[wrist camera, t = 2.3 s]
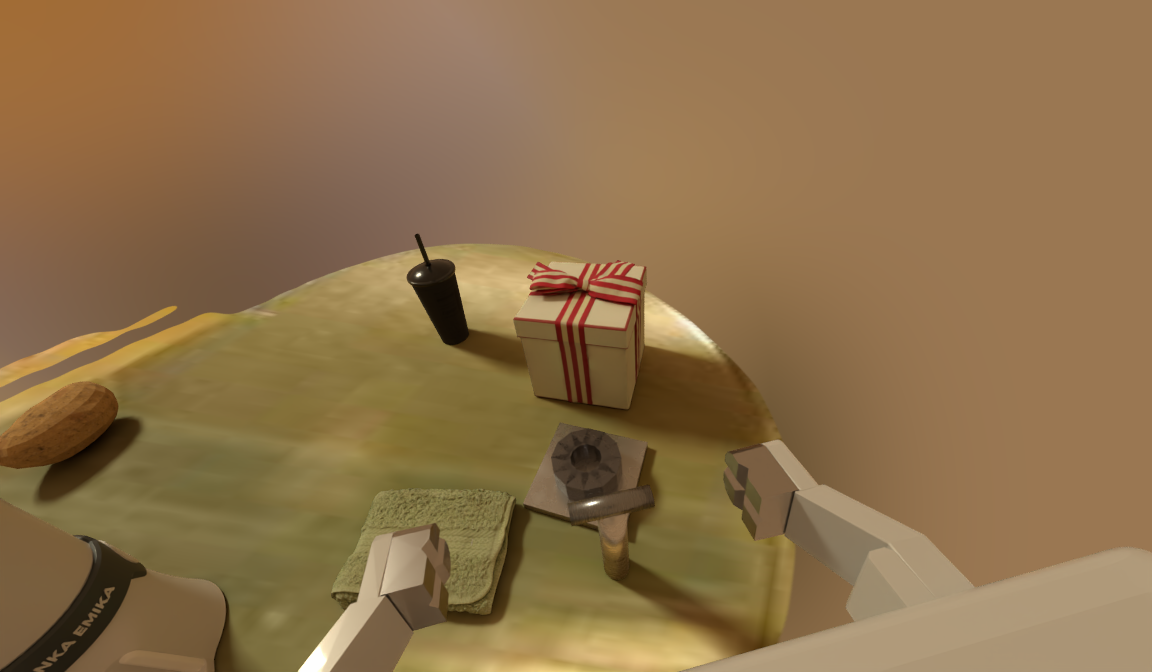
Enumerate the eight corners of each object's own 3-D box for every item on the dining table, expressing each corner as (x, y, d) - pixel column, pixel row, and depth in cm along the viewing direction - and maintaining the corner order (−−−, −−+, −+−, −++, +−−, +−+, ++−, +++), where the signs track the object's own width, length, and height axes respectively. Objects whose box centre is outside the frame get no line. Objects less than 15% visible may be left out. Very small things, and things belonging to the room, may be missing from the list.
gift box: (647, 328, 71) (648, 237, 60) (639, 413, 58) (638, 315, 47) (552, 324, 75) (536, 237, 64) (522, 403, 61) (496, 310, 50)
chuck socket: (624, 537, 45) (622, 520, 42) (524, 507, 49) (518, 490, 46) (647, 446, 53) (647, 427, 51) (560, 427, 57) (557, 408, 55)
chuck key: (645, 545, 44) (646, 476, 35) (653, 571, 42) (656, 504, 33) (581, 561, 44) (565, 494, 35) (586, 588, 42) (571, 524, 33)
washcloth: (498, 621, 41) (490, 610, 39) (332, 612, 43) (316, 601, 41) (521, 495, 51) (515, 481, 48) (385, 493, 53) (374, 480, 51)
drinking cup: (465, 317, 79) (431, 218, 66) (483, 336, 74) (450, 233, 61) (427, 335, 76) (384, 235, 63) (444, 356, 71) (400, 252, 58)
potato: (10, 483, 60) (-50, 451, 55) (102, 407, 70) (59, 374, 65) (66, 485, 58) (10, 452, 53) (151, 407, 69) (112, 373, 64)
